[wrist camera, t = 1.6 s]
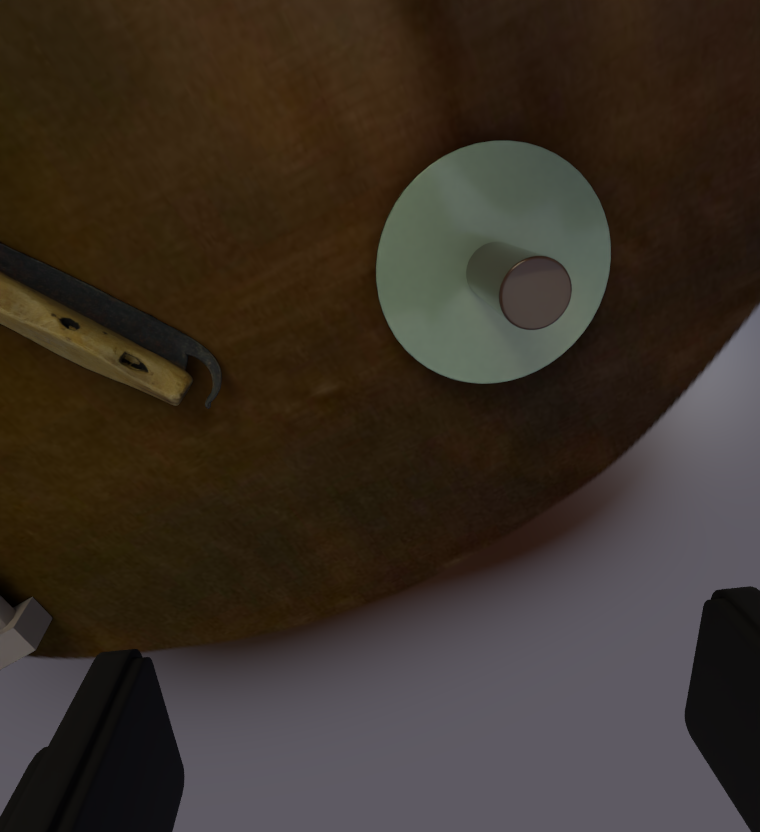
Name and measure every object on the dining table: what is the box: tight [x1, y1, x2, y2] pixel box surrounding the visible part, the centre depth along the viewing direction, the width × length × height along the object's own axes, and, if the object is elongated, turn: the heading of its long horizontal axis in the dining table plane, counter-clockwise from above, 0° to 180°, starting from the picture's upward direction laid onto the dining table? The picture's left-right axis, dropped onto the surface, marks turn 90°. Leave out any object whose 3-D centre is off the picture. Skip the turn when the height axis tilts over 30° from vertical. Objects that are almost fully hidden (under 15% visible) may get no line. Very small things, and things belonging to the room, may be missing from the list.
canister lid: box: [375, 140, 611, 384], centre depth 21 cm, size 10×10×7 cm
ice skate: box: [0, 243, 222, 409], centre depth 23 cm, size 3×14×3 cm
